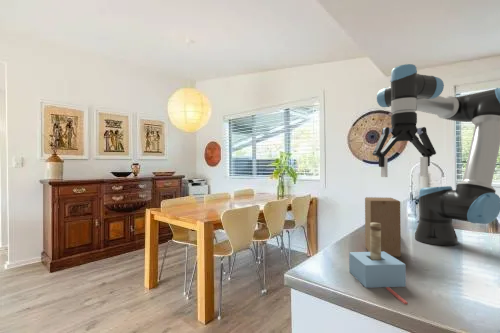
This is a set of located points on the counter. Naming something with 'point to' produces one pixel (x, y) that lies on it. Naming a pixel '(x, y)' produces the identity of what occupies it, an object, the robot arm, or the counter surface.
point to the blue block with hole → (377, 270)
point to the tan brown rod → (375, 241)
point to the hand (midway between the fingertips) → (404, 176)
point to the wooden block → (384, 223)
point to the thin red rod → (396, 295)
